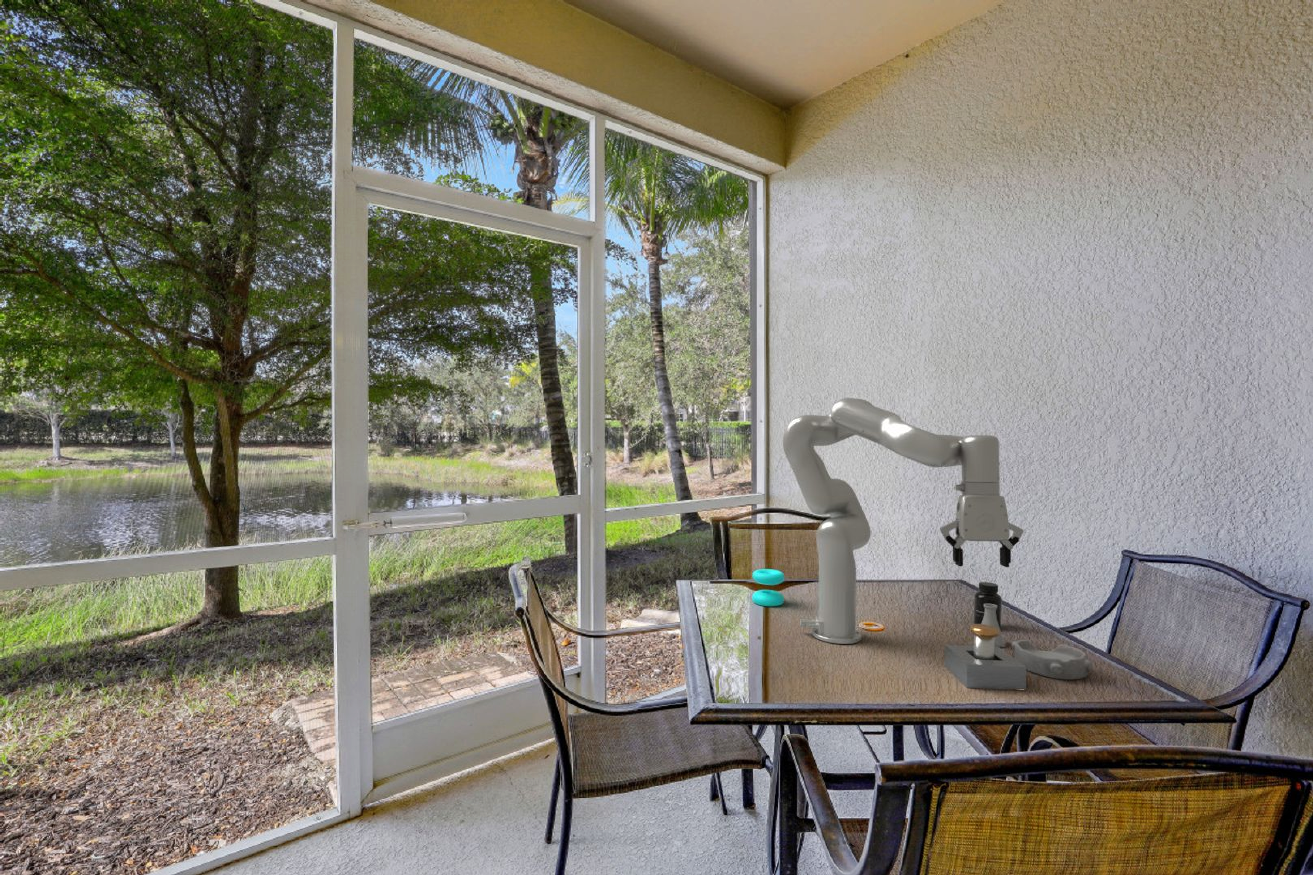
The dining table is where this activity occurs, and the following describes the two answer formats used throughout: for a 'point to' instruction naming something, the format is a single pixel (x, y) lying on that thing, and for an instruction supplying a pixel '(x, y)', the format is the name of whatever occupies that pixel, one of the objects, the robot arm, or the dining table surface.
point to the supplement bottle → (986, 601)
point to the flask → (993, 623)
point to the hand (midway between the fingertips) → (981, 565)
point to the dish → (1052, 660)
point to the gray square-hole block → (985, 669)
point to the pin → (984, 641)
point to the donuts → (768, 595)
